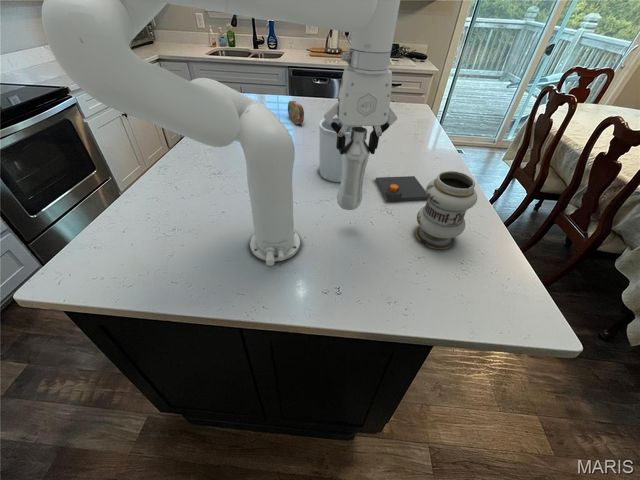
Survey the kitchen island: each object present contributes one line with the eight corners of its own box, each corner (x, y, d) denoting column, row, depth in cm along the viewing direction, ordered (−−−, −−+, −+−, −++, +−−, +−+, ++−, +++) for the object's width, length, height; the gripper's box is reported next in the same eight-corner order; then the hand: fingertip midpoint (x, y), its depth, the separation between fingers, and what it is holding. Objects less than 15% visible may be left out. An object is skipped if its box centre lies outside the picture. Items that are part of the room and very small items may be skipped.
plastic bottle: (333, 210, 75) (340, 132, 62) (339, 196, 80) (347, 122, 67) (357, 215, 74) (371, 137, 60) (362, 201, 78) (376, 126, 65)
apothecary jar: (403, 235, 80) (420, 177, 68) (425, 218, 87) (445, 161, 75) (443, 259, 74) (470, 199, 62) (464, 238, 81) (493, 180, 69)
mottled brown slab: (287, 116, 146) (286, 98, 140) (293, 115, 147) (293, 97, 141) (298, 127, 136) (298, 108, 130) (305, 126, 137) (305, 107, 131)
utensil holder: (323, 185, 98) (326, 134, 86) (312, 165, 109) (313, 116, 97) (364, 181, 101) (372, 130, 90) (350, 161, 112) (355, 114, 100)
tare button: (398, 192, 92) (399, 188, 91) (390, 192, 92) (391, 188, 91) (395, 188, 94) (396, 183, 93) (388, 188, 93) (389, 184, 92)
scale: (428, 200, 94) (431, 192, 92) (386, 202, 92) (387, 194, 90) (413, 179, 104) (415, 171, 102) (374, 181, 102) (375, 173, 100)
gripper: (326, 63, 51) (320, 159, 63) (420, 66, 53) (397, 158, 65) (320, 55, 57) (316, 145, 68) (405, 58, 59) (387, 144, 71)
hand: (356, 151), depth 67 cm, fingers closed on plastic bottle, 6 cm apart
